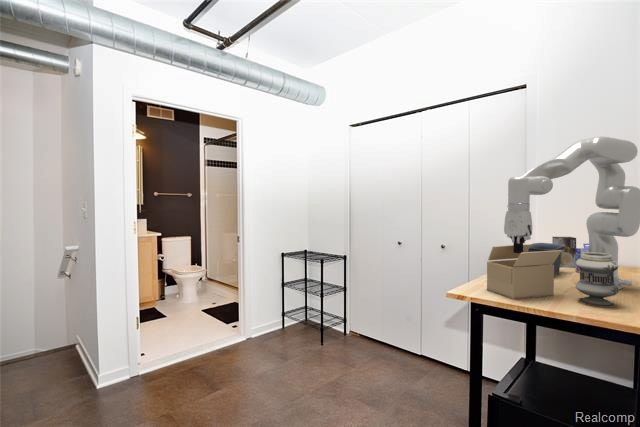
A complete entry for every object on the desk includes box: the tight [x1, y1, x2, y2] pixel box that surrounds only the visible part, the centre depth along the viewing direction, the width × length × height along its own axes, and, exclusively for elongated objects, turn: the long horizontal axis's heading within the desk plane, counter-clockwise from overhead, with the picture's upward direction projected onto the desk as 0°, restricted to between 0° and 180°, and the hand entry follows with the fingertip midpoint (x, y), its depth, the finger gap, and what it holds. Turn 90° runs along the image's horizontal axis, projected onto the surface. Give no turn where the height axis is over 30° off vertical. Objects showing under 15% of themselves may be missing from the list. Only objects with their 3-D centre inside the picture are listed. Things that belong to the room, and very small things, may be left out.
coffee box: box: [551, 236, 577, 268], centre depth 185 cm, size 9×6×16 cm
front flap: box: [514, 250, 562, 267], centre depth 128 cm, size 18×7×1 cm
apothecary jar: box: [575, 252, 620, 308], centre depth 122 cm, size 12×12×18 cm
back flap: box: [487, 244, 530, 261], centre depth 142 cm, size 18×7×1 cm
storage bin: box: [528, 242, 565, 275], centre depth 169 cm, size 21×16×14 cm
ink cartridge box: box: [575, 243, 589, 274], centre depth 169 cm, size 10×6×14 cm, turn 78°
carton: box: [486, 258, 555, 300], centre depth 137 cm, size 20×14×12 cm
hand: (518, 252), depth 137 cm, fingers closed
